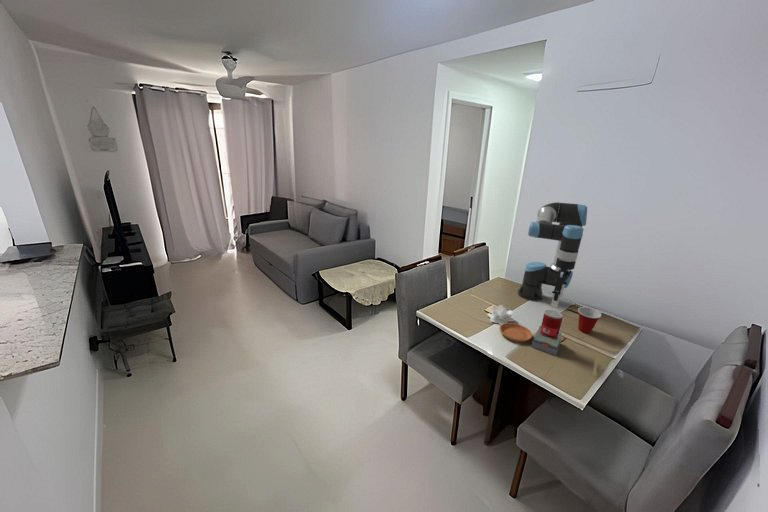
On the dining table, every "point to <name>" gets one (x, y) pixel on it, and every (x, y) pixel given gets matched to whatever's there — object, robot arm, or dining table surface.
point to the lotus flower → (500, 315)
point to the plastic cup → (587, 319)
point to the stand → (547, 342)
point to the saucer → (515, 332)
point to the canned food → (551, 323)
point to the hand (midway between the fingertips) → (556, 301)
